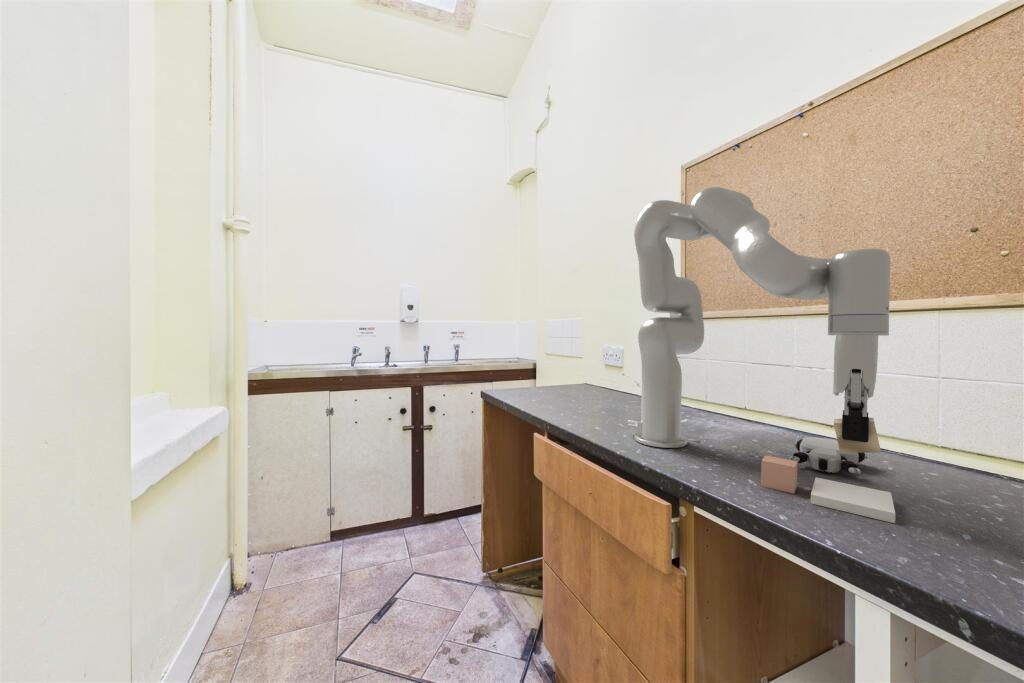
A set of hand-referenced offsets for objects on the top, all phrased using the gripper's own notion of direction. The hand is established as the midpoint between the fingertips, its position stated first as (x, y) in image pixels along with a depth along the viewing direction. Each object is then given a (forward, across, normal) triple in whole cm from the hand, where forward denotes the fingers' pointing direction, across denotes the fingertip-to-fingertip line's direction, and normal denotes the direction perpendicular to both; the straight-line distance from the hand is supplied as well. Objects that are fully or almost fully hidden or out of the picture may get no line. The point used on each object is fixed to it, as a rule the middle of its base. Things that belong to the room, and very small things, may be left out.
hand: (854, 436), depth 65 cm
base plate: (+11, 0, 0) cm, 11 cm away
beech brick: (+2, 0, +1) cm, 2 cm away
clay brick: (+11, 0, -10) cm, 15 cm away
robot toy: (+11, -20, -4) cm, 24 cm away
